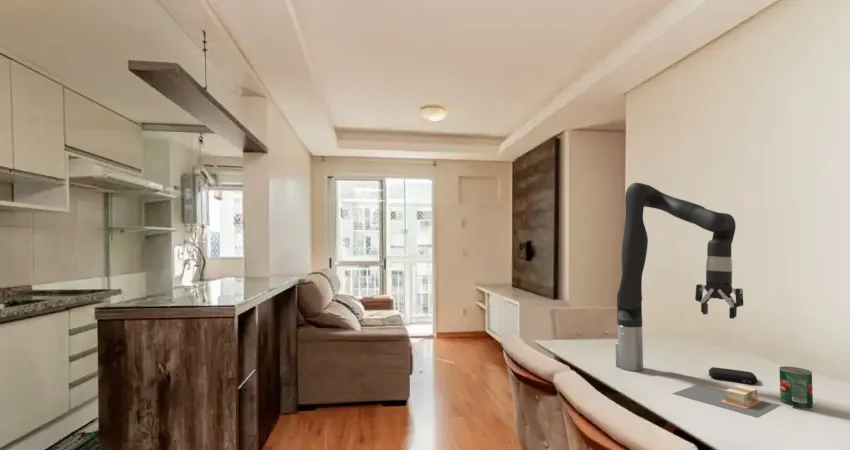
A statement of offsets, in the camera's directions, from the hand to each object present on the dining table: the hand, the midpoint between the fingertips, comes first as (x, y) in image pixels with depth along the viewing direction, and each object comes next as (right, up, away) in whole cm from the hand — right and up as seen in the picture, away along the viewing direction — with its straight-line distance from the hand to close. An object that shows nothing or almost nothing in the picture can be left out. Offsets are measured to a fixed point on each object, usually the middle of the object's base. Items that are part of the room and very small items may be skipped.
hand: (718, 316), depth 151 cm
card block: (-2, -24, -14) cm, 28 cm away
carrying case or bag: (+13, -27, +11) cm, 32 cm away
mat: (-6, -25, -12) cm, 28 cm away
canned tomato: (+14, -25, -15) cm, 33 cm away
